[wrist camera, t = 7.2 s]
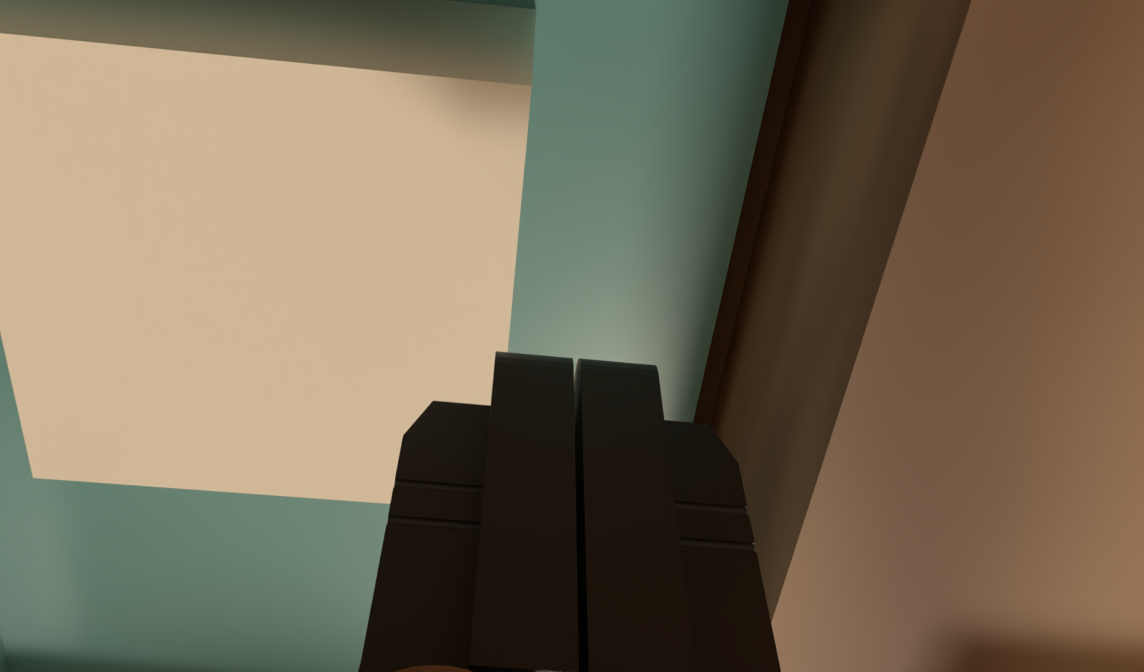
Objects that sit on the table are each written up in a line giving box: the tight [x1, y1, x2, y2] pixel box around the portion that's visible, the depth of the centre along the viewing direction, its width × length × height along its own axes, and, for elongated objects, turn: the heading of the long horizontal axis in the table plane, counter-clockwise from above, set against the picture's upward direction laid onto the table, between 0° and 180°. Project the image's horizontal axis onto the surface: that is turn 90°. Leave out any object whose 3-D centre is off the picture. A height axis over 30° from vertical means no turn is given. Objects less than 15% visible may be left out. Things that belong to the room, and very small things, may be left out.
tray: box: [0, 0, 789, 672], centre depth 16 cm, size 12×18×4 cm
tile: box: [0, 0, 536, 504], centre depth 14 cm, size 6×6×2 cm
